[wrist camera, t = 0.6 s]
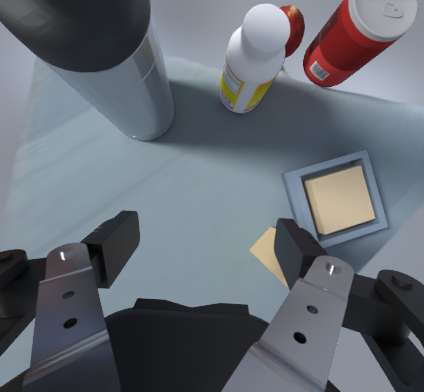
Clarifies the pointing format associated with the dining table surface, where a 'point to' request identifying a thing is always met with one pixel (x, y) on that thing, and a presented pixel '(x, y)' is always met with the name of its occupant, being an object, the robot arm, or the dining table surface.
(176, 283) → the dining table surface
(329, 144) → the dining table surface
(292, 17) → the onion
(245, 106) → the supplement bottle
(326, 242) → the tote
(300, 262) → the robot arm
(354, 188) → the beige slab
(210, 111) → the dining table surface
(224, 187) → the dining table surface
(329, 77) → the canned food
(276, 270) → the carton
